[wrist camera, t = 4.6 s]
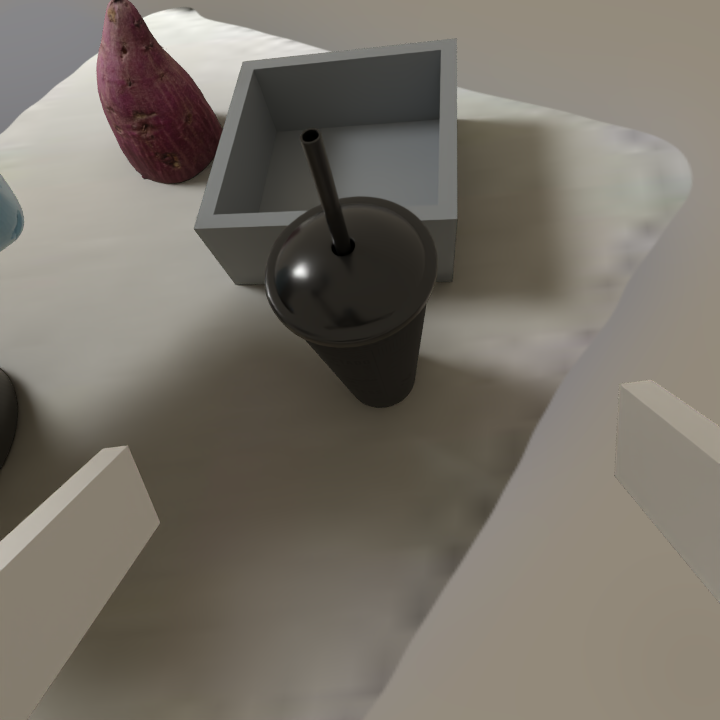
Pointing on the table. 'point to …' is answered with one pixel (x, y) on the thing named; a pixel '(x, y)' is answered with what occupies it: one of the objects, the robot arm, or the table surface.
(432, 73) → the bin
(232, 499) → the table surface
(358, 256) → the drinking cup
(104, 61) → the vegetable
